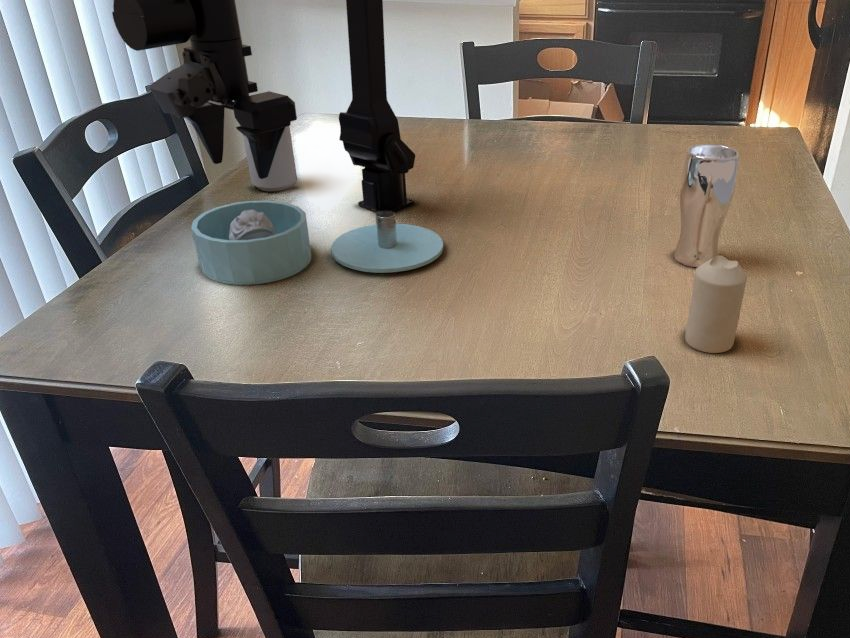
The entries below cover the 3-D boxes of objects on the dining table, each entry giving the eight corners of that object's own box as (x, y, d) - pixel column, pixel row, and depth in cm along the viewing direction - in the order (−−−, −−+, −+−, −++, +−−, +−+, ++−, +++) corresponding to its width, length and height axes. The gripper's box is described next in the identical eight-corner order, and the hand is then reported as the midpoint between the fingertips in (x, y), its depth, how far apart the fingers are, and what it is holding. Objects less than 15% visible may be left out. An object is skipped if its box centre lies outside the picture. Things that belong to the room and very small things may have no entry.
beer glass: (724, 252, 109) (743, 146, 100) (718, 272, 103) (738, 162, 95) (675, 245, 111) (689, 140, 102) (666, 264, 105) (681, 156, 97)
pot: (265, 231, 113) (258, 192, 109) (334, 257, 106) (328, 216, 102) (178, 264, 103) (168, 223, 100) (247, 295, 96) (239, 252, 93)
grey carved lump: (240, 273, 100) (230, 222, 96) (227, 253, 105) (217, 204, 101) (286, 263, 103) (278, 214, 99) (271, 244, 108) (263, 197, 104)
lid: (387, 223, 116) (384, 186, 113) (465, 248, 109) (465, 210, 105) (308, 256, 106) (303, 217, 103) (389, 287, 98) (386, 246, 95)
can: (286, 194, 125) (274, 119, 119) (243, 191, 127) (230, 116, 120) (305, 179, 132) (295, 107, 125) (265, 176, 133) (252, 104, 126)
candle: (679, 330, 90) (691, 251, 85) (724, 328, 91) (739, 250, 85) (692, 354, 86) (705, 273, 80) (740, 352, 86) (757, 271, 80)
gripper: (105, 37, 88) (140, 171, 96) (204, 59, 79) (232, 205, 87) (190, 25, 95) (215, 150, 104) (289, 43, 86) (308, 179, 95)
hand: (240, 170), depth 97 cm, fingers open, 9 cm apart
